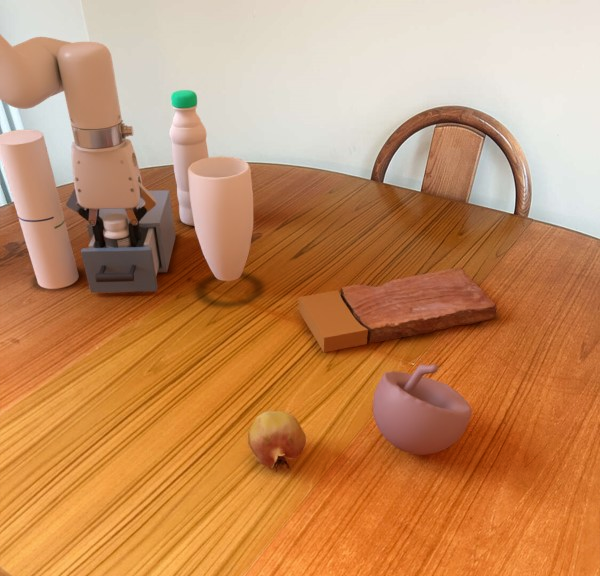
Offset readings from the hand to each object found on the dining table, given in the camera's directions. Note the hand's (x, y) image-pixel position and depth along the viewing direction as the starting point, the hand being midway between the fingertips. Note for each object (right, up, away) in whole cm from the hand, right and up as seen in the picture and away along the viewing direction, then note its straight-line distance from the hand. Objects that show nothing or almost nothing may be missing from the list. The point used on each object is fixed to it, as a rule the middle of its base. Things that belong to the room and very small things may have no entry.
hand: (119, 243), depth 112 cm
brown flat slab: (+47, -13, -4) cm, 49 cm away
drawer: (0, -5, +5) cm, 7 cm away
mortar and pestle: (+46, -32, -27) cm, 62 cm away
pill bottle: (0, -3, +3) cm, 4 cm away
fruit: (+28, -34, -29) cm, 53 cm away
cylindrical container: (-13, -5, +7) cm, 15 cm away
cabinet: (0, +1, +14) cm, 14 cm away
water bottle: (+9, +11, +26) cm, 29 cm away
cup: (+18, -7, +3) cm, 20 cm away
